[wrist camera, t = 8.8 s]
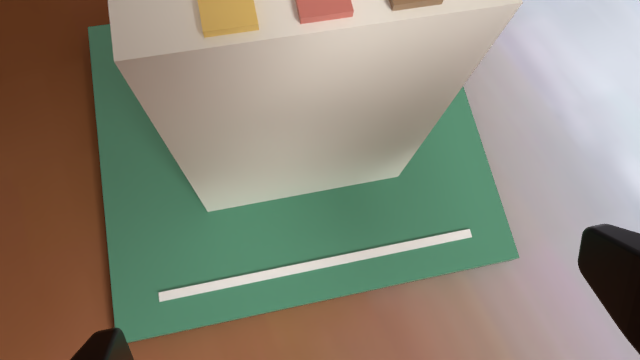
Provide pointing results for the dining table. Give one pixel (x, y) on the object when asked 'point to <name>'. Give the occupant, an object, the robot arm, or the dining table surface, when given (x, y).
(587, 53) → the dining table surface
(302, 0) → the plug block
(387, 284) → the header board
